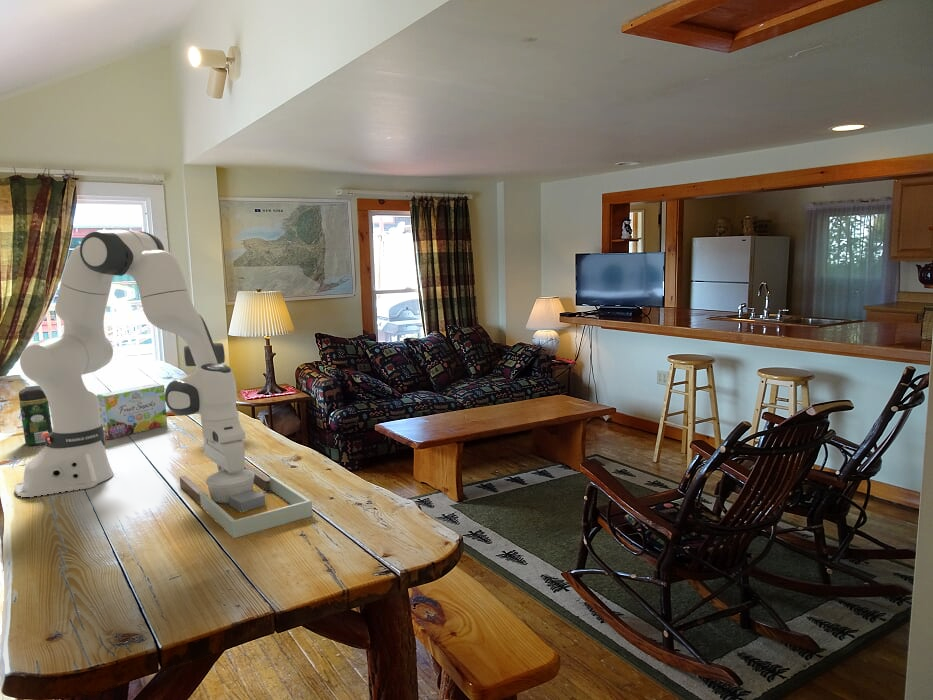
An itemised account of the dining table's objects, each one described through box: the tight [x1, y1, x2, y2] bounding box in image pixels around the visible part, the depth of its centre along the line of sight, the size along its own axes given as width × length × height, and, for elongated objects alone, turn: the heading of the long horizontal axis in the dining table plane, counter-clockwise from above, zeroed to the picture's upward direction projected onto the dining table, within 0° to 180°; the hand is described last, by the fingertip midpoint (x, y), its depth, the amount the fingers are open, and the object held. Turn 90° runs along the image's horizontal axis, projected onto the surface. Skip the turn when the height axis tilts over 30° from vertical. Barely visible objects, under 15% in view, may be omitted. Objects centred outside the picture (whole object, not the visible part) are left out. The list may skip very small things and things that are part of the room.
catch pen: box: [200, 475, 313, 539], centre depth 151 cm, size 18×23×4 cm
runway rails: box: [179, 462, 271, 505], centre depth 168 cm, size 17×19×2 cm
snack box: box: [96, 383, 168, 440], centre depth 226 cm, size 21×6×15 cm, turn 148°
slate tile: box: [228, 489, 266, 513], centre depth 155 cm, size 6×6×2 cm
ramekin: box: [205, 469, 255, 504], centre depth 161 cm, size 11×11×5 cm
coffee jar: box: [18, 385, 53, 446], centre depth 216 cm, size 10×8×19 cm
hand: (225, 481), depth 168 cm, fingers closed
